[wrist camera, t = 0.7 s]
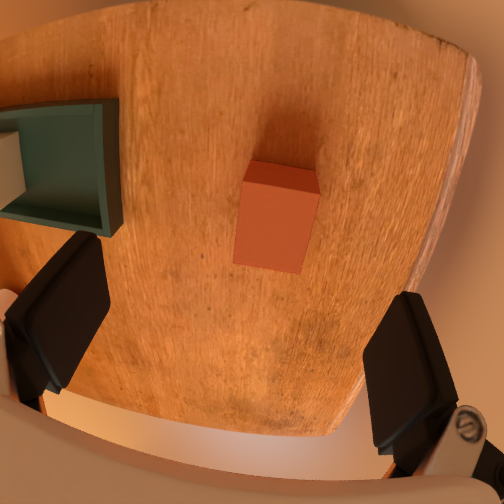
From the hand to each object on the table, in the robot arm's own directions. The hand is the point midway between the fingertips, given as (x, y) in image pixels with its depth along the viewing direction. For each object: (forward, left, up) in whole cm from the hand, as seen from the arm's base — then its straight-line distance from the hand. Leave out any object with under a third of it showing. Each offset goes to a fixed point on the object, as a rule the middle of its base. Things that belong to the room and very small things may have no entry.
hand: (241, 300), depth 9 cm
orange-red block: (+2, +4, -16) cm, 17 cm away
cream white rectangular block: (+21, -16, -15) cm, 31 cm away
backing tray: (+18, -13, -16) cm, 28 cm away
